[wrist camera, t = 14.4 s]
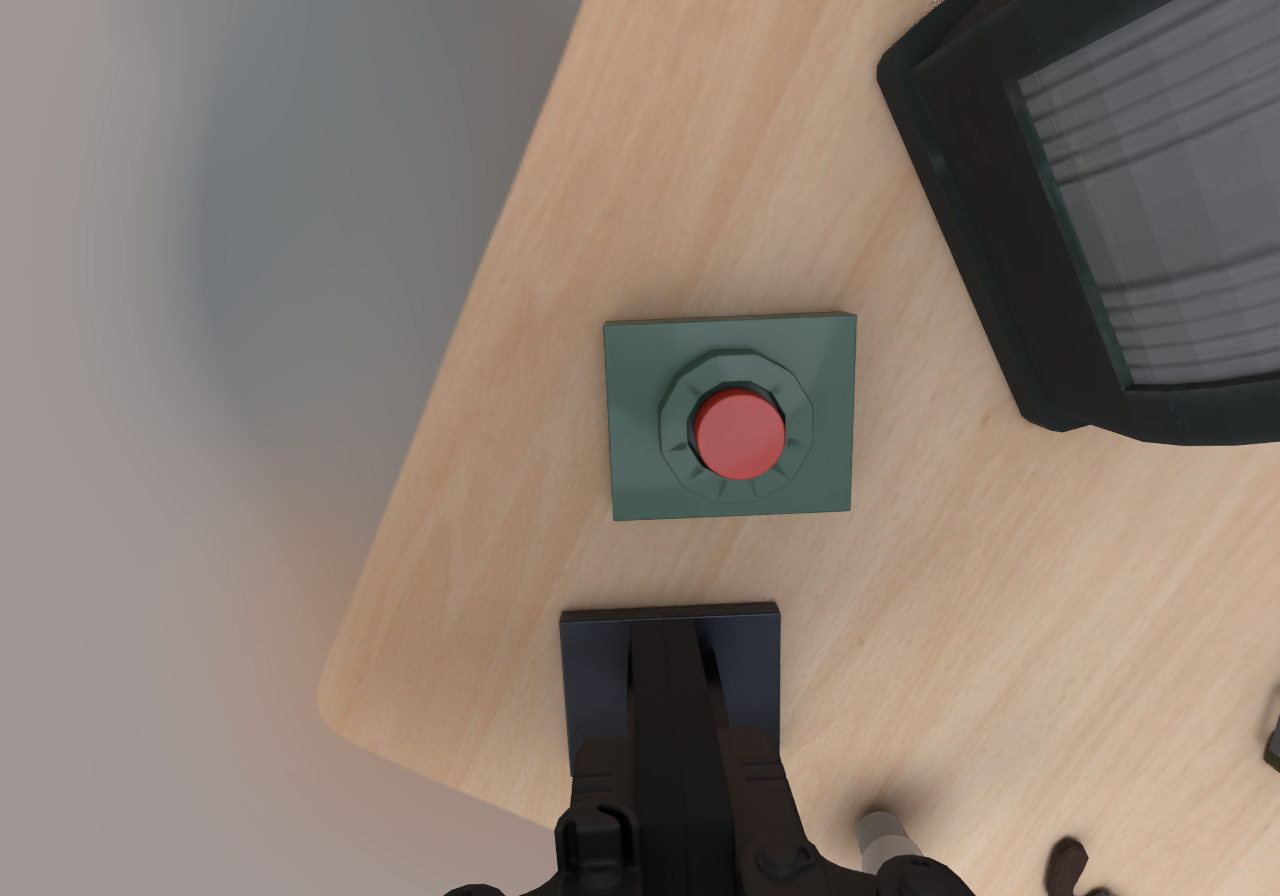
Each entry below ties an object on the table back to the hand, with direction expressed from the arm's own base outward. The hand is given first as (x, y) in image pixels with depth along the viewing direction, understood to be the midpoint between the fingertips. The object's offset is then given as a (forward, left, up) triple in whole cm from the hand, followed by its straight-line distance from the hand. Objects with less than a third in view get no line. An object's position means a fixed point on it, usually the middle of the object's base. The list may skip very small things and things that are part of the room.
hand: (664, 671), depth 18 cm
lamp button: (+4, +2, -15) cm, 15 cm away
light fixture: (+22, +13, -19) cm, 31 cm away
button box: (+4, +2, -18) cm, 19 cm away
